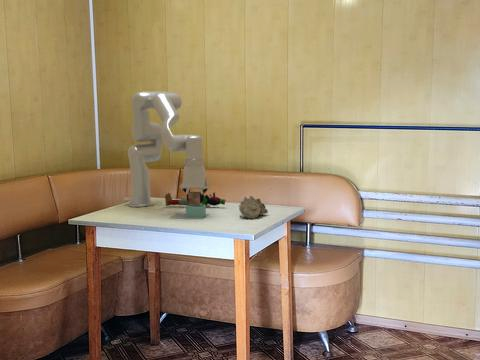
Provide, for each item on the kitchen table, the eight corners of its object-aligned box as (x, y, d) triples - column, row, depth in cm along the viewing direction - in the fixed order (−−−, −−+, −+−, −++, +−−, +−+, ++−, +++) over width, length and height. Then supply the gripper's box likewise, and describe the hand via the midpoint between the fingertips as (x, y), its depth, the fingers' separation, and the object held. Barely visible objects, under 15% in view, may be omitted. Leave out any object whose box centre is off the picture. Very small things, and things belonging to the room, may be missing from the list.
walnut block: (188, 204, 271) (188, 193, 271) (191, 202, 276) (191, 191, 275) (199, 204, 270) (199, 193, 270) (202, 202, 275) (201, 191, 275)
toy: (176, 188, 318) (231, 187, 312) (177, 203, 319) (232, 202, 313) (155, 199, 286) (216, 197, 280) (156, 215, 287) (217, 214, 281)
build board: (169, 220, 270) (169, 218, 270) (176, 215, 282) (176, 213, 282) (203, 220, 267) (203, 219, 267) (209, 215, 279) (209, 213, 279)
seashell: (235, 221, 271) (234, 200, 269) (249, 212, 284) (248, 191, 282) (257, 223, 267) (256, 202, 264) (270, 214, 279) (270, 193, 277)
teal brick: (186, 217, 272) (185, 206, 272) (189, 215, 277) (188, 204, 277) (203, 217, 271) (203, 206, 270) (205, 215, 276) (205, 204, 275)
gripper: (173, 163, 269) (175, 203, 271) (210, 163, 266) (211, 204, 268) (178, 162, 276) (179, 201, 278) (214, 162, 273) (215, 201, 275)
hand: (195, 202), depth 273 cm, fingers closed on walnut block, 5 cm apart
